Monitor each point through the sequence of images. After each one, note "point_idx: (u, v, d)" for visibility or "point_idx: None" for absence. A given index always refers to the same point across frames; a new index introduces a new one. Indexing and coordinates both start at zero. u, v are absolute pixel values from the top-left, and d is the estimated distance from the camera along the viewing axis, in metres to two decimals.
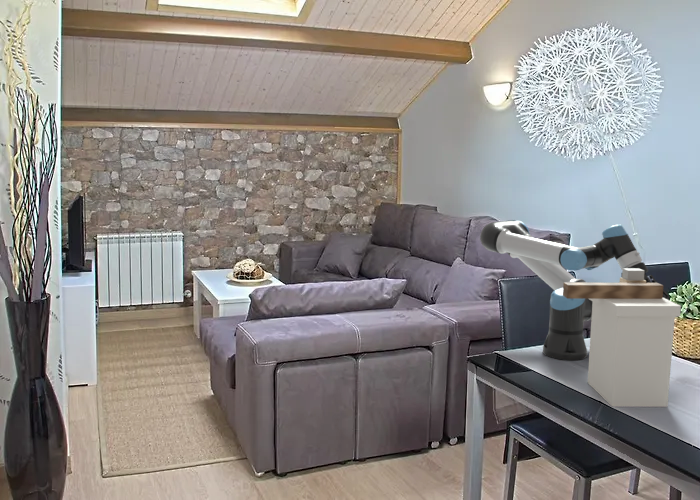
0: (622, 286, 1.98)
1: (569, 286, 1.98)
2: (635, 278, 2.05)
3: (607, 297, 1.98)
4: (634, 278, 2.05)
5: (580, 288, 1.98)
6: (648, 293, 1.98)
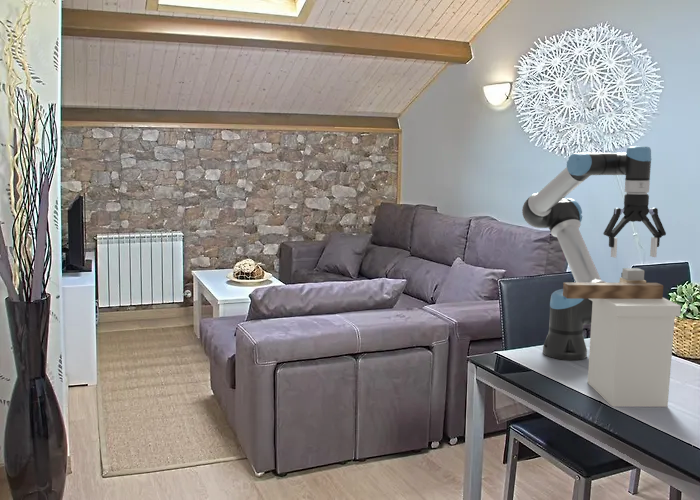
0: (622, 286, 1.98)
1: (569, 286, 1.98)
2: (635, 278, 2.05)
3: (607, 297, 1.98)
4: (634, 278, 2.05)
5: (580, 288, 1.98)
6: (648, 293, 1.98)
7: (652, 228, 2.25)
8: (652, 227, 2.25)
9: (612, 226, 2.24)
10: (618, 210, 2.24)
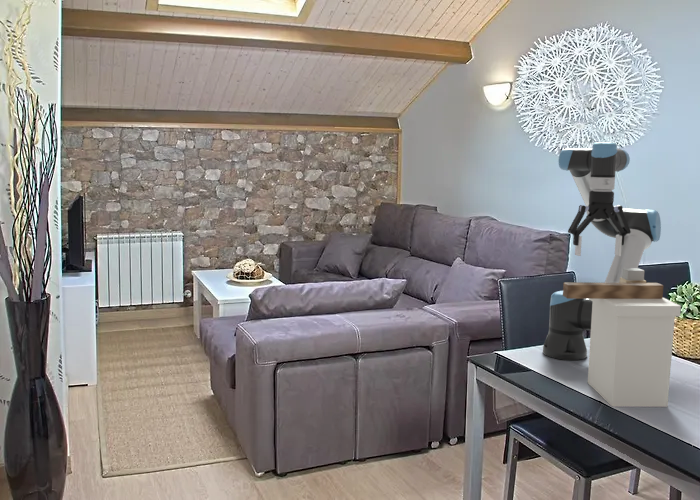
0: (622, 286, 1.98)
1: (569, 286, 1.98)
2: (635, 278, 2.05)
3: (607, 297, 1.98)
4: (634, 278, 2.05)
5: (580, 288, 1.98)
6: (648, 293, 1.98)
7: (617, 226, 2.21)
8: (617, 225, 2.21)
9: (577, 224, 2.19)
10: (583, 207, 2.19)
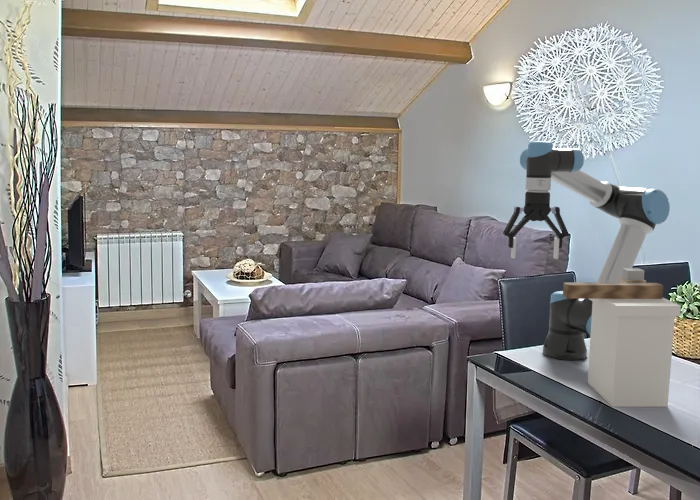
0: (622, 286, 1.98)
1: (569, 286, 1.98)
2: (635, 278, 2.05)
3: (607, 297, 1.98)
4: (634, 278, 2.05)
5: (580, 288, 1.98)
6: (648, 293, 1.98)
7: (554, 228, 2.13)
8: (554, 227, 2.13)
9: (511, 225, 2.13)
10: (517, 209, 2.12)
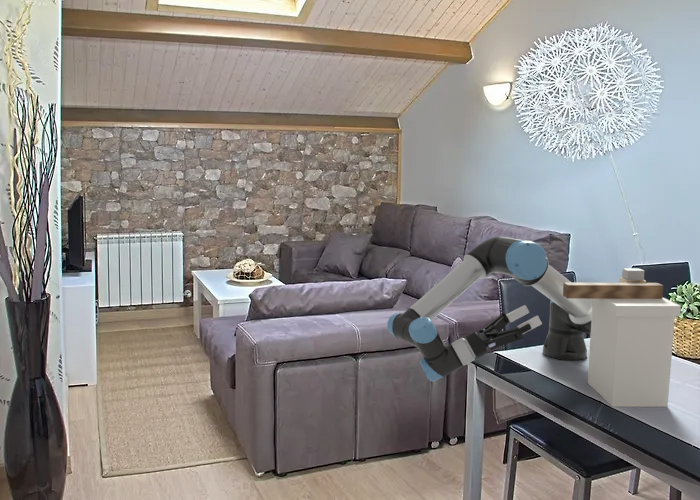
0: (622, 286, 1.98)
1: (569, 286, 1.98)
2: (635, 278, 2.05)
3: (607, 297, 1.98)
4: (634, 278, 2.05)
5: (580, 288, 1.98)
6: (648, 293, 1.98)
7: None
8: None
9: None
10: None
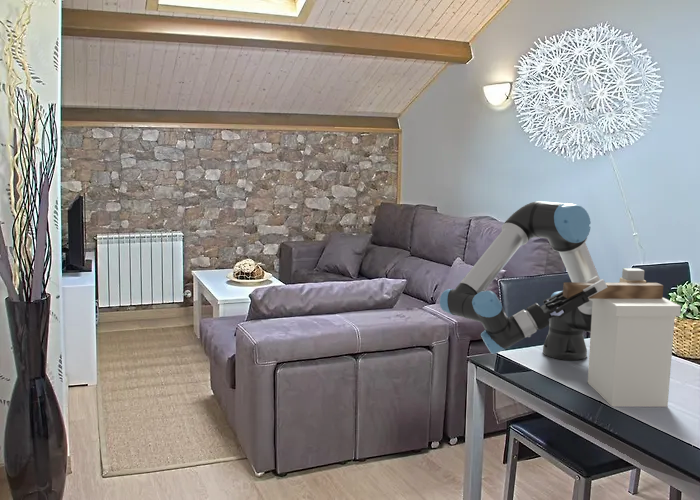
0: (622, 286, 1.98)
1: (569, 286, 1.98)
2: (635, 278, 2.05)
3: (607, 297, 1.98)
4: (634, 278, 2.05)
5: (580, 288, 1.98)
6: (648, 293, 1.98)
7: None
8: None
9: None
10: None
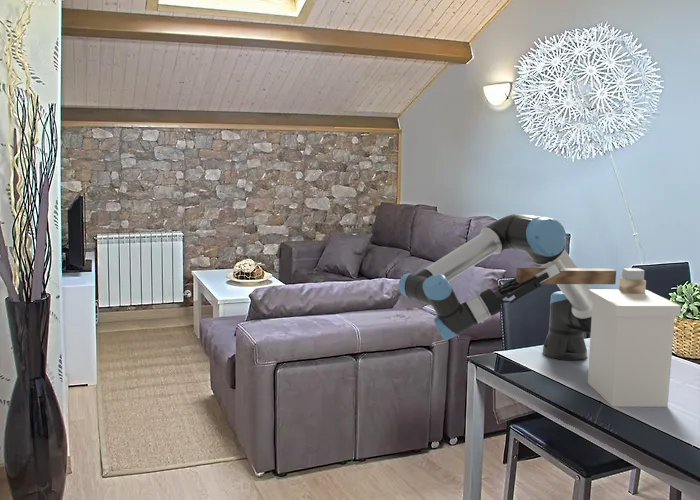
0: (575, 271, 1.97)
1: (521, 271, 1.97)
2: (635, 278, 2.05)
3: (560, 282, 1.97)
4: (634, 278, 2.05)
5: (533, 274, 1.97)
6: (601, 279, 1.97)
7: None
8: None
9: None
10: None
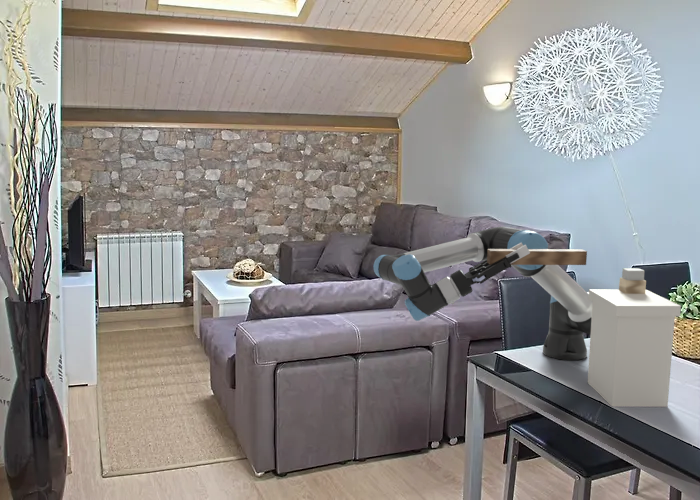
0: (545, 252, 1.96)
1: (492, 252, 1.96)
2: (635, 278, 2.05)
3: (530, 263, 1.97)
4: (634, 278, 2.05)
5: (503, 254, 1.96)
6: (572, 259, 1.97)
7: None
8: None
9: None
10: None
